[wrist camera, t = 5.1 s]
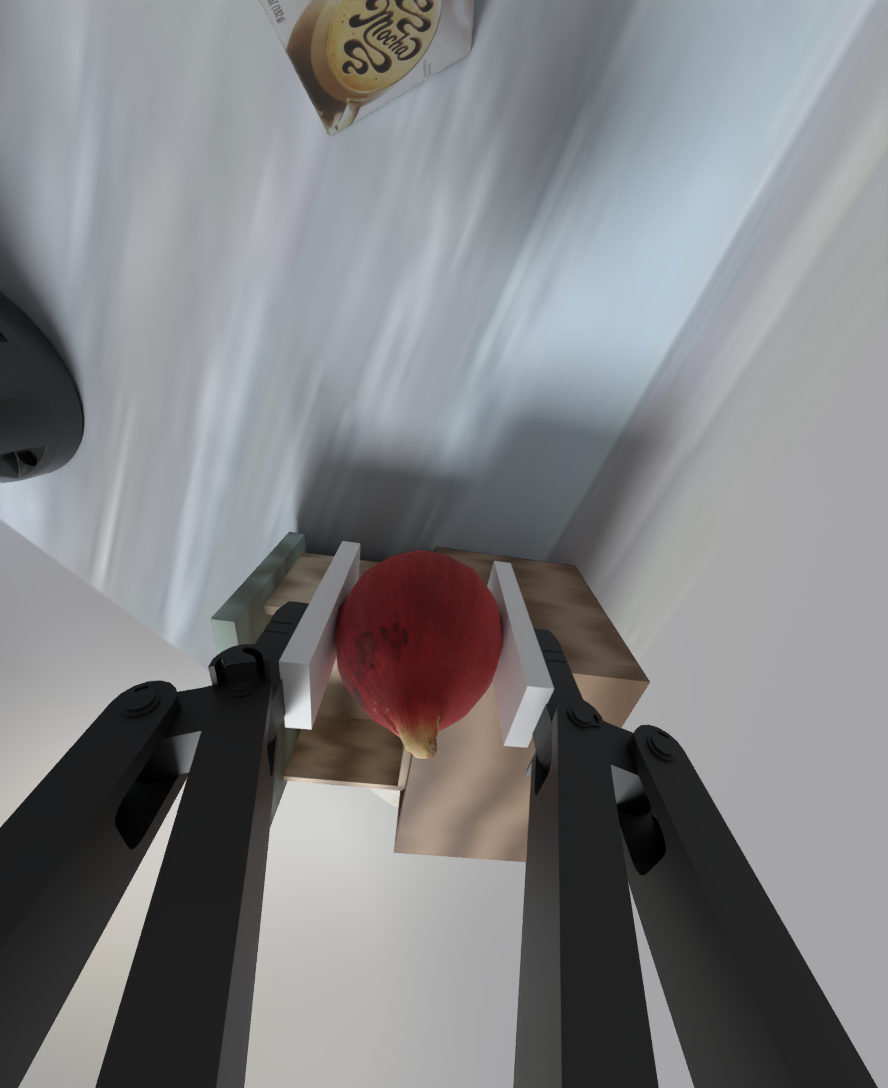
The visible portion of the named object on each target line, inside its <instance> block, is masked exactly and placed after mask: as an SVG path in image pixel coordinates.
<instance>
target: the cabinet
mask: <svg viewBox="0 0 888 1088" xmlns="http://www.w3.org/2000/svg"><path fill="white" fill-rule="evenodd" d="M435 553H440V554H445V555H447V556H449V557H451V558H453V559H455V560H457V561H459V562H461V563H463V564H465V565H467V566H469V567H471V568H473V569H474V570H475V572H476V573H477V574H478V576H479V577H480V578H481V579H482V581H483V582H484V583H485V584H486V586H487V585H488V581H489V577H490V574H491V570H492V566H493V562H494V561H499V562H507V563H511V566H512V568H513V571H514V574H515V577H516V580H517V583H518V586H519V589H520V592H521V594H522V597H523V600H524V603H525V606H526V609H527V612H528V615H529V618H530V620H531V623H532V626H533V628H536V629H545V630H549V631H550V632H551V633H552V634H553V635H554V636H555V637H556V638H557V640H558V641H559V643H560V645H561V648H562V650H563V654H564V655H565V657H566V660H567V664H569V667H570V669H571V672H572V674H573V676H574V679H575V681H576V683H577V686H578V688H579V691H580V693H581V695H582V698H583V700H584V701H586V702H588V703H589V704H590V705H592V706H593V707H594V708H595V709H596V710H597V711H598V712H599V714H600V715H601V716H602V719H603V720H604V721H606V722H608V723H610V724H612V725H614V726H617V727H620V728H621V727H622V726H623V724H624V723H625V721H626V719H627V718H628V716H629V715H630V713H631V712H632V709H633V708H634V707H635V705H636V704H637V702H638V701H639V699H640V697H641V696H642V694H643V693H644V691H645V689H646V688H647V686H648V685H649V683H650V681H649V680H648V678H647V677H646V675H645V673H644V672H643V670H642V669H641V667H640V666H639V664H638V663H637V661H636V659H635V658H634V656H633V655H632V653H631V652H630V650H629V649H628V647H627V645H626V644H625V642H624V641H623V639H622V638H621V636H620V635H619V633H618V631H617V630H616V628H615V627H614V625H613V624H612V622H611V621H610V619H609V618H608V616H607V614H606V613H605V611H604V610H603V608H602V607H601V605H600V604H599V602H598V600H597V599H596V597H595V596H594V594H593V593H592V591H591V590H590V588H589V586H588V585H587V583H586V582H585V580H584V579H583V577H582V576H581V574H580V572H579V571H578V569H577V568H576V566H571V565H563V564H556V563H549V562H542V561H535V560H527V559H520V558H513V557H506V556H498V555H491V554H484V553H477V552H470V551H462V550H455V549H448V548H441V547H436V552H435ZM436 741H437V752H436V754H435V755H434V757H431V758H428V759H421V758H416V757H414V756H413V755H411V758H410V764H409V769H408V774H407V779H406V785H405V789H403V791H401V790H400V798H399V808H398V818H397V827H396V837H395V847H394V852H395V853H406V854H420V855H435V856H448V857H462V858H477V859H491V860H504V861H505V860H506V861H519V862H526V855H527V838H528V820H529V802H530V785H531V773H530V775H529V777H527V776H525V774H526V771H527V768H528V766H529V764H530V762H531V759H532V757H533V755H534V753H535V751H536V749H535V745H534V741H533V737H532V739H531V741H530V743H529V745H528V747H527V748H524V747H512V746H504V745H503V739H502V733H501V727H500V721H499V715H498V709H497V703H496V697H495V691H494V684H493V681H492V683H491V685H490V686H489V688H488V690H487V691H486V693H485V694H484V695H483V696H482V697H481V699H480V700H479V701H478V702H477V703H476V704H475V706H474V707H473V708H472V709H471V710H470V712H469V713H468V714H467V715H466V716H464V717H463V718H462V719H460V720H459V721H457V722H455V723H454V724H452V725H450V726H449V727H447V728H445V729H443V730H441V731H438V735H437V739H436Z"/></svg>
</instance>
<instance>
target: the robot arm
mask: <svg viewBox="0 0 888 1088" xmlns="http://www.w3.org/2000/svg"><path fill="white" fill-rule="evenodd" d="M81 436H82V412H81V407H80V402H79V399H78V395H77V392H76V390H75V387H74V384H73V382H72V380H71V378H70V375H69V373H68V371H67V370H66V368H65V366H64V364H63V362H62V361H61V359H60V358H59V356H58V354H57V353H56V351H55V350H54V349H53V347H52V346H51V344H50V343H49V342H48V340H47V339H46V338H45V336H44V335H43V334H42V333H41V332H40V330H39V329H38V328H37V327H36V326H35V325H34V324H33V323H32V322H31V320H30V319H29V318H28V317H27V316H26V315H25V314H24V313H23V312H22V311H20V310H19V309H18V308H17V307H16V306H15V305H14V304H13V303H12V302H10V301H9V300H8V299H7V298H6V297H5V296H3V295H2V294H1V293H0V483H5V482H14V481H20V480H25V479H28V478H32V477H35V476H39V475H43V474H46V473H50V472H52V471H55V470H57V469H59V468H61V467H62V466H64V465H65V464H66V463H67V462H69V461H70V459H71V458H72V457H73V456H74V454H75V453H76V451H77V449H78V447H79V444H80V440H81ZM360 544H361V543H354V542H346V541H342V543H341V545H340V547H339V549H338V550H337V552H336V554H335V556H334V558H333V560H332V562H331V564H330V566H329V567H328V569H327V571H326V573H325V575H324V577H323V579H322V581H321V583H320V584H319V586H318V588H317V590H316V592H315V594H314V596H313V598H312V600H311V601H310V603H302V602H293V601H288V602H287V603H286V604H284V605H283V606H281V607H280V608H279V609H277V610H276V612H275V613H274V615H273V617H272V618H271V620H270V622H269V623H268V624H267V626H266V627H265V629H264V632H262V634H261V635H260V637H259V638H258V640H257V641H256V643H255V644H241V645H237V646H232V647H230V648H228V649H226V650H224V651H222V652H221V653H219V654H218V655H217V656H216V657H215V658H213V660H212V661H211V663H210V665H209V666H208V668H209V672H210V677H211V681H212V686H208V687H204V688H198V689H192V690H186V691H180V692H177V691H176V688H175V687H174V686H173V685H172V684H171V683H169V682H165V681H149V682H145V683H142V684H139V685H136V686H134V687H132V688H130V689H128V690H126V691H125V692H123V693H121V694H120V695H119V696H118V697H116V699H114V700H113V701H112V702H111V703H110V704H109V705H108V706H107V707H106V709H105V710H104V711H103V712H102V713H101V714H100V715H99V716H98V718H97V719H96V720H95V721H94V722H93V723H92V724H91V726H90V727H89V728H88V729H87V730H86V731H85V732H84V733H83V735H82V736H81V737H80V738H79V739H78V740H77V742H76V743H75V744H74V745H73V746H72V747H71V748H70V749H69V750H68V752H67V753H66V754H65V755H64V756H63V757H62V758H61V760H60V761H59V762H58V763H57V764H56V765H55V766H54V768H53V769H52V770H51V771H50V772H49V773H48V774H47V775H46V777H45V778H44V779H43V780H42V781H41V782H40V783H39V784H38V786H37V787H36V788H35V789H34V790H33V791H32V793H30V795H29V796H28V797H27V798H26V799H25V800H24V802H23V803H22V804H21V805H20V806H19V807H18V808H17V809H16V811H15V812H14V813H13V814H12V815H11V816H10V817H9V818H8V820H7V821H6V822H5V823H4V824H3V825H2V826H1V827H0V1088H18V1087H19V1085H20V1083H21V1081H22V1079H23V1078H24V1076H25V1074H26V1072H27V1070H28V1068H29V1067H30V1065H31V1063H32V1061H33V1059H34V1057H35V1056H36V1054H37V1052H38V1050H39V1048H40V1046H41V1045H42V1043H43V1041H44V1039H45V1037H46V1035H47V1034H48V1032H49V1030H50V1028H51V1026H52V1024H53V1023H54V1021H55V1019H56V1017H57V1015H58V1013H59V1011H60V1010H61V1008H62V1006H63V1004H64V1002H65V1001H66V999H67V997H68V995H69V993H70V991H71V990H72V988H73V986H74V984H75V982H76V980H77V979H78V977H79V975H80V973H81V971H82V969H83V968H84V966H85V964H86V962H87V960H88V958H89V957H90V955H91V953H92V951H93V949H94V947H95V946H96V944H97V942H98V940H99V938H100V936H101V934H102V933H103V931H104V929H105V927H106V925H107V923H108V922H109V920H110V918H111V916H112V914H113V913H114V911H115V909H116V907H117V905H118V903H119V902H120V900H121V898H122V896H123V894H124V892H125V890H126V889H127V887H128V885H129V883H130V881H131V880H132V878H133V876H134V874H135V872H136V870H137V869H138V867H139V865H140V863H141V861H142V859H143V857H144V856H145V854H146V852H147V850H148V848H149V846H150V845H151V843H152V841H153V839H154V837H155V836H156V834H157V832H158V830H159V828H160V826H161V825H162V823H163V821H164V819H165V817H166V815H167V813H168V812H169V810H170V808H171V806H172V804H173V802H174V801H175V799H176V797H177V795H178V793H179V791H180V790H181V788H182V786H183V784H184V782H185V781H186V779H187V781H186V784H185V788H184V791H183V794H182V798H181V801H180V804H179V808H178V811H177V815H176V818H175V821H174V825H173V828H172V831H171V835H170V838H169V841H168V845H167V848H166V852H165V855H164V859H163V862H162V865H161V868H160V872H159V875H158V878H157V882H156V885H155V889H154V892H153V895H152V899H151V902H150V906H149V909H148V912H147V915H146V919H145V922H144V926H143V929H142V932H141V936H140V939H139V942H138V946H137V949H136V952H135V956H134V959H133V963H132V966H131V969H130V973H129V976H128V979H127V983H126V986H125V989H124V993H123V996H122V1000H121V1003H120V1006H119V1010H118V1013H117V1017H116V1020H115V1023H114V1026H113V1030H112V1033H111V1037H110V1040H109V1043H108V1047H107V1050H106V1054H105V1057H104V1060H103V1064H102V1067H101V1070H100V1074H99V1077H98V1080H97V1084H96V1088H244V1083H245V1072H246V1063H247V1052H248V1042H249V1032H250V1022H251V1012H252V1001H253V992H254V982H255V971H256V962H257V952H258V942H259V931H260V921H261V911H262V901H263V891H264V881H265V871H266V860H267V851H268V841H269V830H270V821H271V811H272V801H273V791H274V781H275V770H276V760H277V750H278V734H277V732H278V730H279V727H280V725H281V723H282V720H283V718H284V720H285V727H287V728H298V729H310V730H312V727H313V724H314V721H315V718H316V715H317V713H318V710H319V707H320V704H321V701H322V698H323V695H324V692H325V689H326V686H327V683H328V681H329V678H330V675H331V672H332V669H333V666H334V663H335V660H336V624H337V618H338V613H339V609H340V607H341V605H342V604H343V602H344V600H345V599H346V597H347V596H348V594H349V593H350V591H351V590H352V588H353V587H354V585H355V584H356V583H357V581H358V580H359V565H360ZM487 587H488V588H489V590H490V591H491V593H492V595H493V596H494V598H495V600H496V602H497V605H498V610H499V614H500V619H501V624H502V628H503V646H502V649H501V653H500V657H499V661H498V665H497V669H496V672H495V675H494V678H493V684H494V691H495V697H496V703H497V709H498V715H499V721H500V727H501V733H502V739H503V745H504V746H512V747H524V748H527V747H528V745H529V743H530V741H531V739H532V737H533V741H534V745H535V749H536V751H535V753H534V755H533V757H532V759H531V762H530V764H529V766H528V768H527V771H526V774H525V776H527V777H529V775H530V773H531V785H530V802H529V820H528V838H527V855H526V874H525V892H524V909H523V926H522V944H521V946H522V947H521V962H520V963H521V964H520V979H519V997H518V1016H517V1032H516V1051H515V1068H514V1086H513V1087H514V1088H659V1087H658V1080H657V1073H656V1067H655V1060H654V1053H653V1047H652V1040H651V1033H650V1027H649V1020H648V1014H647V1006H646V999H645V993H644V986H643V979H642V972H641V966H640V960H639V953H638V945H637V939H636V932H635V925H634V919H633V912H632V905H631V899H630V891H629V886H630V889H631V892H632V895H633V898H634V901H635V904H636V907H637V911H638V914H639V917H640V920H641V923H642V926H643V929H644V932H645V936H646V939H647V942H648V945H649V948H650V951H651V954H652V957H653V960H654V963H655V967H656V970H657V973H658V976H659V979H660V982H661V985H662V988H663V991H664V995H665V998H666V1001H667V1004H668V1007H669V1010H670V1013H671V1016H672V1019H673V1023H674V1026H675V1029H676V1032H677V1035H678V1038H679V1041H680V1044H681V1047H682V1050H683V1054H684V1056H685V1060H686V1063H687V1066H688V1069H689V1072H690V1075H691V1078H692V1081H693V1085H694V1088H878V1087H877V1086H876V1084H875V1082H874V1080H873V1079H872V1077H871V1075H870V1073H869V1072H868V1070H867V1068H866V1066H865V1065H864V1063H863V1061H862V1060H861V1058H860V1056H859V1054H858V1052H857V1051H856V1049H855V1047H854V1045H853V1044H852V1042H851V1040H850V1038H849V1037H848V1035H847V1033H846V1032H845V1030H844V1028H843V1026H842V1025H841V1023H840V1021H839V1019H838V1018H837V1016H836V1014H835V1012H834V1011H833V1009H832V1007H831V1005H830V1004H829V1002H828V1000H827V998H826V997H825V995H824V993H823V991H822V990H821V988H820V986H819V985H818V983H817V981H816V979H815V978H814V976H813V974H812V972H811V971H810V969H809V967H808V965H807V964H806V962H805V960H804V959H803V957H802V955H801V953H800V951H799V950H798V948H797V947H796V945H795V943H794V941H793V939H792V938H791V936H790V934H789V932H788V931H787V929H786V927H785V926H784V924H783V922H782V920H781V918H780V917H779V915H778V913H777V912H776V910H775V908H774V906H773V904H772V903H771V901H770V899H769V897H768V896H767V894H766V892H765V891H764V889H763V887H762V885H761V884H760V882H759V880H758V878H757V877H756V875H755V873H754V872H753V870H752V868H751V866H750V864H749V863H748V861H747V859H746V857H745V856H744V854H743V852H742V851H741V849H740V847H739V845H738V844H737V842H736V840H735V838H734V837H733V835H732V833H731V831H730V830H729V828H728V826H727V824H726V823H725V821H724V819H723V818H722V816H721V814H720V812H719V811H718V809H717V807H716V805H715V804H714V802H713V800H712V798H711V797H710V795H709V793H708V791H707V790H706V788H705V786H704V785H703V783H702V781H701V779H700V778H699V776H698V774H697V772H696V770H695V769H694V767H693V765H692V764H691V762H690V760H689V758H688V757H687V755H686V753H685V751H684V750H683V749H682V747H681V746H680V745H679V743H678V742H677V741H676V740H675V739H674V738H673V737H672V736H670V735H669V734H668V733H666V732H665V731H663V730H661V729H660V728H657V727H654V726H651V725H641V726H640V727H638V728H637V729H636V730H635V732H634V733H632V732H630V731H627V730H625V729H622V728H620V727H617V726H614V725H612V724H610V723H608V722H606V721H604V720H603V719H602V716H601V715H600V714H599V712H598V711H597V710H596V709H595V708H594V707H593V706H592V705H590V704H589V703H588V702H586V701H584V700H583V698H582V695H581V693H580V691H579V688H578V686H577V683H576V681H575V679H574V676H573V674H572V672H571V669H570V667H569V664H567V660H566V657H565V655H564V654H563V650H562V648H561V645H560V643H559V641H558V640H557V638H556V637H555V636H554V635H553V634H552V633H551V632H550V631H549V630H545V629H536V628H533V626H532V623H531V620H530V618H529V615H528V612H527V609H526V606H525V603H524V600H523V597H522V594H521V592H520V589H519V586H518V583H517V580H516V577H515V574H514V571H513V568H512V566H511V563H507V562H499V561H494V562H493V566H492V570H491V574H490V577H489V581H488V585H487ZM187 777H188V778H187ZM628 883H629V885H628Z"/></svg>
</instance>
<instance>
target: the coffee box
mask: <svg viewBox="0 0 888 1088" xmlns="http://www.w3.org/2000/svg"><path fill="white" fill-rule="evenodd" d="M258 1H259V3H260V4H261V6H262V8H263V10H264V12H265V14H266V16H267V17H268V19H269V21H270V23H271V25H272V27H273V29H274V31H275V33H276V35H277V36H278V38H279V40H280V42H281V44H282V46H283V48H284V50H285V52H286V54H287V56H288V58H289V60H290V62H291V64H292V66H293V67H294V69H295V71H296V73H297V75H298V77H299V79H300V81H301V83H302V85H303V87H304V89H305V90H306V92H307V94H308V96H309V98H310V100H311V102H312V103H313V105H314V107H315V109H316V111H317V113H318V115H319V117H320V119H321V121H322V123H323V126H324V128H325V131H326V132H327V134H329V135H334V134H336V133H338V132H339V131H341V130H343V129H344V128H346V127H348V126H350V125H351V124H353V123H355V122H356V121H358V120H360V119H361V118H363V117H365V116H366V115H368V114H370V113H371V112H373V111H375V110H376V109H378V108H380V107H381V106H383V105H384V104H386V103H388V102H389V101H391V100H393V99H394V98H396V97H398V96H399V95H401V94H403V93H404V92H406V91H408V90H409V89H411V88H413V87H414V86H416V85H418V84H419V83H421V82H423V81H424V80H426V79H428V78H430V77H431V76H433V75H435V74H436V73H438V72H440V71H441V70H443V69H444V68H446V67H448V66H449V65H451V64H453V63H454V62H456V61H458V60H460V59H461V58H463V57H465V56H466V55H468V54H469V53H470V51H471V46H472V30H473V17H474V3H475V0H258Z"/></svg>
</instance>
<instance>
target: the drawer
mask: <svg viewBox="0 0 888 1088" xmlns="http://www.w3.org/2000/svg"><path fill="white" fill-rule="evenodd" d="M333 558H334V556H327V555H320V554H312V553H306V543H305V534H302V533H294V532H289V533H288V534H287V535H286V536H285V537H284V538H283V540H282V541H281V542H280V543H279V544H278V545H277V546H276V547H275V548H274V550H273V551H272V552H271V553H270V554H269V555H268V556H267V557H266V558H265V559H264V561H263V562H262V563H261V564H260V565H259V566H258V567H257V568H256V569H255V570H254V572H253V573H252V574H251V575H250V576H249V577H248V578H247V579H246V580H245V582H244V583H243V584H242V585H241V586H240V587H239V588H238V589H237V590H236V591H235V593H234V594H233V595H232V596H231V597H230V598H229V599H228V600H227V601H226V602H225V604H224V605H223V606H222V607H221V608H220V609H219V610H218V611H217V612H216V613H215V615H214V616H213V617H212V618H211V619H210V620H211V625H212V630H213V634H214V639H215V644H216V649H217V654H219V653H221V652H222V651H224V650H226V649H228V648H230V647H232V646H237V645H241V644H255V643H256V641H257V640H258V638H259V637H260V635H261V634H262V632H264V629H265V627H266V626H267V624H268V623H269V622H270V620H271V618H272V617H273V615H274V613H275V612H276V610H277V609H279V608H280V607H281V606H283V605H284V604H286V603H287V602H288V601H293V602H302V603H310V601H311V600H312V598H313V596H314V594H315V592H316V590H317V588H318V586H319V584H320V583H321V581H322V579H323V577H324V575H325V573H326V571H327V569H328V567H329V566H330V564H331V562H332V560H333ZM378 563H380V562H372V561H365V560H360V565H359V578H360V577H361V575H362V574H363V572H364V571H366V570H368V569H370V568H371V567H373V566H375V565H376V564H378ZM277 734H278V750H277V760H276V770H275V781H274V791H273V801H272V811H271V821H270V826H271V824H272V821H273V818H274V816H275V813H276V810H277V807H278V805H279V802H280V799H281V797H282V794H283V791H284V789H285V786H286V783H287V781H295V782H306V783H318V784H330V785H342V786H355V787H365V788H377V789H389V790H401V791H403V789H405V785H406V779H407V774H408V769H409V764H410V758H411V754H410V753H409V752H408V751H406V749H405V746H404V744H403V742H402V740H401V739H400V738H399V737H398V736H397V735H395V734H394V733H393V732H391V731H390V730H389V729H388V728H386V727H384V726H382V725H380V724H379V723H377V722H376V721H374V720H373V719H372V718H370V717H369V715H368V714H367V713H366V712H365V710H364V709H363V708H362V707H361V706H360V704H359V703H358V702H357V701H356V700H355V699H354V697H353V696H352V695H351V694H350V692H349V691H348V689H347V688H346V686H345V685H344V683H343V681H342V679H341V676H340V673H339V671H338V666H337V657H336V660H335V663H334V666H333V669H332V672H331V675H330V678H329V681H328V683H327V686H326V689H325V692H324V695H323V698H322V701H321V704H320V707H319V710H318V713H317V715H316V718H315V721H314V724H313V727H312V730H310V729H298V728H287V727H285V720H284V718H283V720H282V723H281V725H280V727H279V730H278V732H277Z"/></svg>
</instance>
